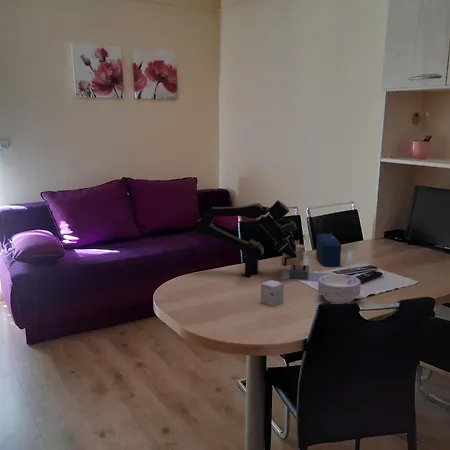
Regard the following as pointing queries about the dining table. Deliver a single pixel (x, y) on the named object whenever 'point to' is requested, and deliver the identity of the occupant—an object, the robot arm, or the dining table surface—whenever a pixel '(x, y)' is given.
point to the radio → (328, 250)
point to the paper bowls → (339, 288)
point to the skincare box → (272, 292)
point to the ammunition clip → (289, 257)
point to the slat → (299, 257)
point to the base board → (311, 277)
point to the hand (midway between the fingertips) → (297, 254)
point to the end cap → (299, 272)
